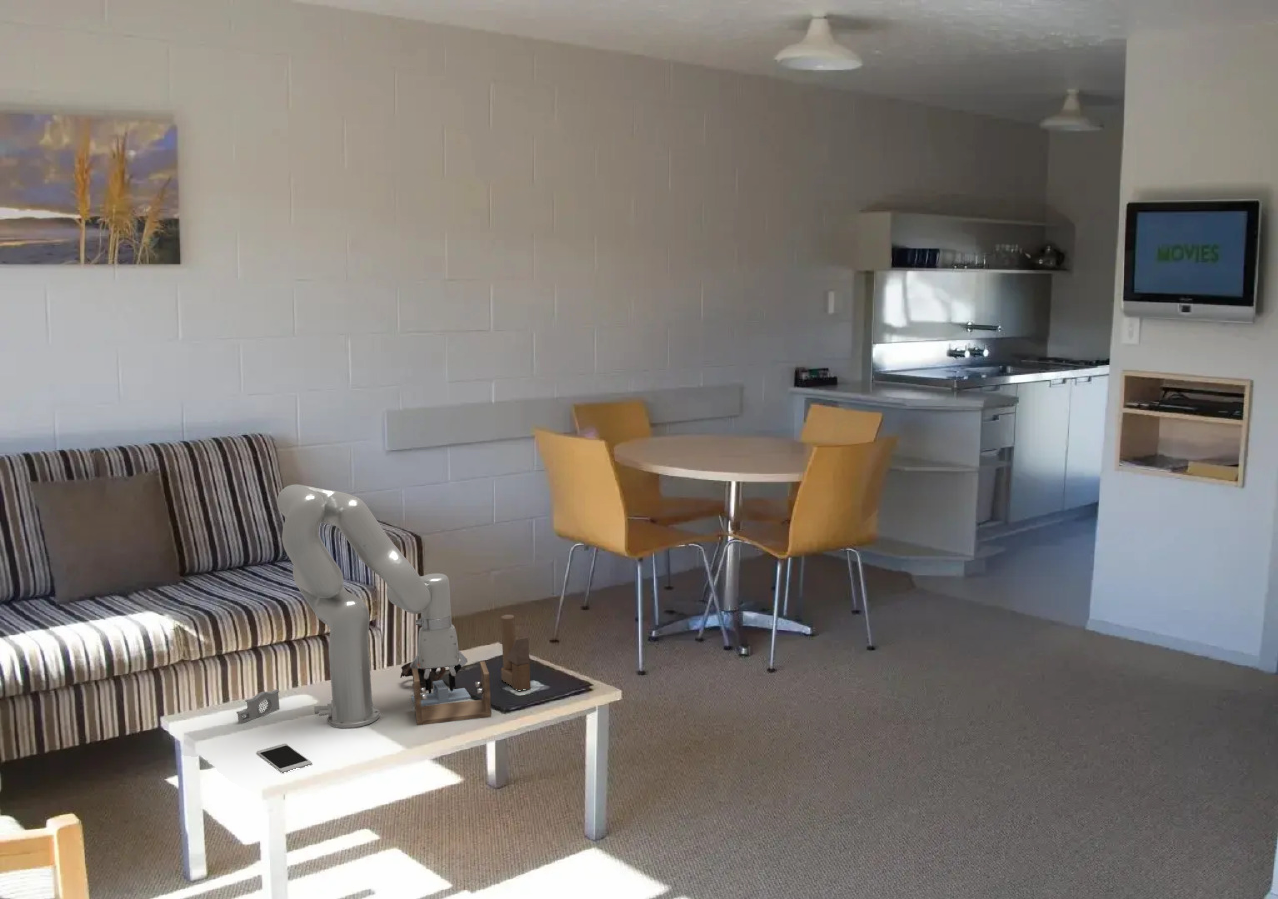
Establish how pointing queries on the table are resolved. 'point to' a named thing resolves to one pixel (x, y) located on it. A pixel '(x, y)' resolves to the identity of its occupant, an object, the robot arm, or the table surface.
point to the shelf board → (443, 694)
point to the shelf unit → (453, 709)
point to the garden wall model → (254, 706)
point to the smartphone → (284, 758)
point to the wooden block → (514, 656)
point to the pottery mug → (434, 677)
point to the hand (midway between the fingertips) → (440, 690)
